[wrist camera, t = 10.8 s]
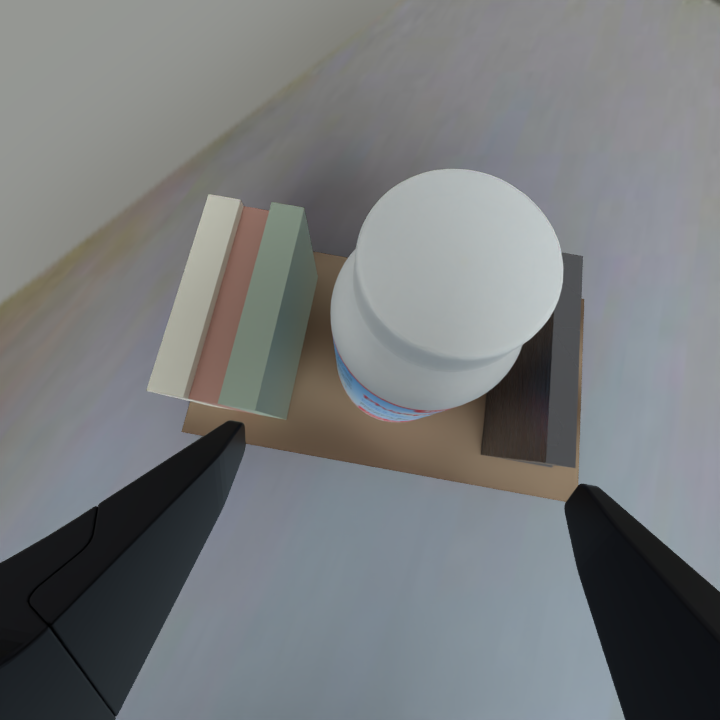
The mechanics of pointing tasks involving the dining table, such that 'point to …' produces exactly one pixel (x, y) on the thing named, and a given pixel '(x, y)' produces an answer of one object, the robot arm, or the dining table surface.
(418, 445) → the shelf board
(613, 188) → the dining table surface
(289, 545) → the dining table surface
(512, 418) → the bookend
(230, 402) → the row of books
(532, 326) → the pill bottle
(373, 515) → the dining table surface
